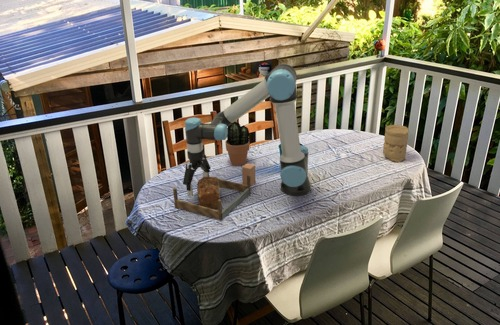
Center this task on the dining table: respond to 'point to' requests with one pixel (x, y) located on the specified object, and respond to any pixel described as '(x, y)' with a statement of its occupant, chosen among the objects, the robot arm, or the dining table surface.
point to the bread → (208, 192)
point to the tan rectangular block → (248, 173)
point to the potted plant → (237, 143)
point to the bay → (218, 213)
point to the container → (395, 142)
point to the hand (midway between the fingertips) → (198, 189)
